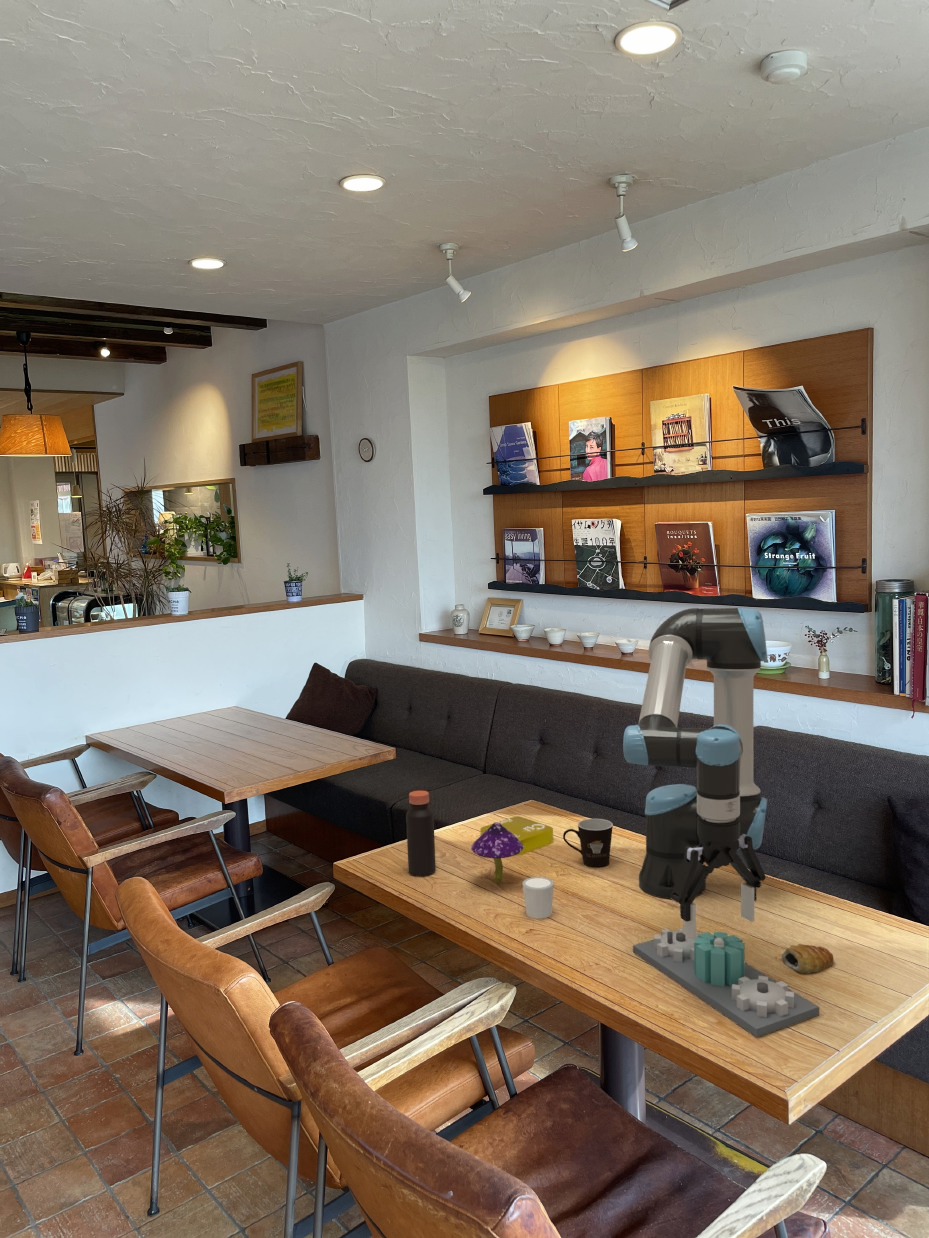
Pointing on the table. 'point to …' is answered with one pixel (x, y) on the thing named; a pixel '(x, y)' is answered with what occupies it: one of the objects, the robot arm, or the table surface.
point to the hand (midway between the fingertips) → (719, 927)
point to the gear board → (728, 986)
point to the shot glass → (538, 897)
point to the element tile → (527, 832)
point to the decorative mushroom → (497, 846)
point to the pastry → (807, 958)
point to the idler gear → (719, 959)
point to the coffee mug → (594, 841)
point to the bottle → (420, 835)
